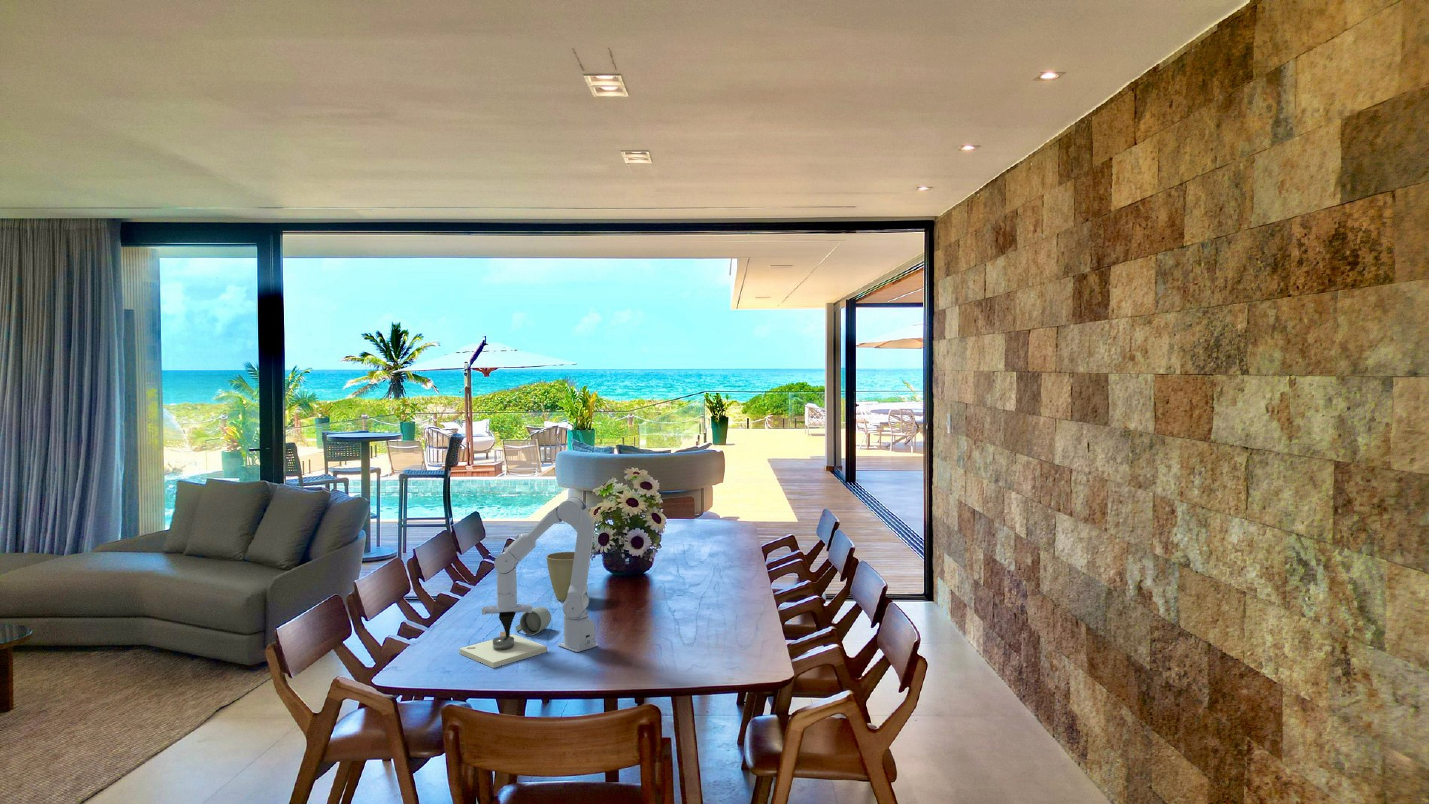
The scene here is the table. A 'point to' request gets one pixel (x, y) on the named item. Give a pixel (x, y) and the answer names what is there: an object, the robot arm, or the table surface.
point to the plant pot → (560, 572)
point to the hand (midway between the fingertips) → (507, 636)
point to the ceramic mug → (534, 621)
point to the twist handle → (503, 642)
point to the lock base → (502, 651)
